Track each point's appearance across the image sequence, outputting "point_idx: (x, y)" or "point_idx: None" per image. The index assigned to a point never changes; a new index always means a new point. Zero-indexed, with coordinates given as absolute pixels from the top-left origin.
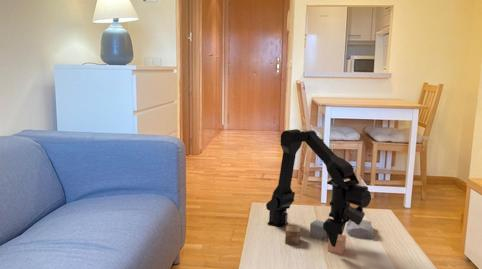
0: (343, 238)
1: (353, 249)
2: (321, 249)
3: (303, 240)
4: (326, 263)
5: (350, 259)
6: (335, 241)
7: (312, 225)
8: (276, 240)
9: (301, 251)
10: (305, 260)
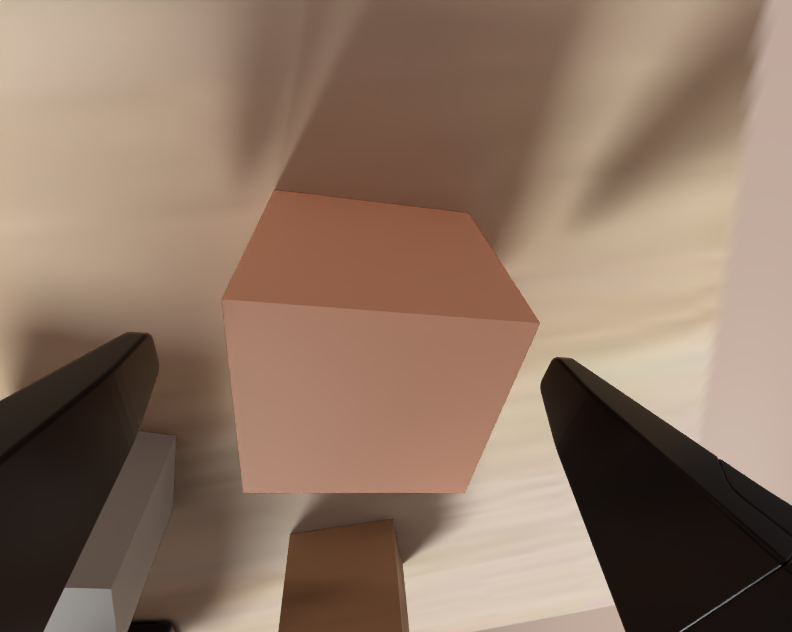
0: (405, 327)
1: (226, 48)
2: None
3: (297, 516)
4: (696, 326)
5: (604, 81)
6: (658, 430)
7: (124, 623)
8: None
9: (495, 490)
10: None
